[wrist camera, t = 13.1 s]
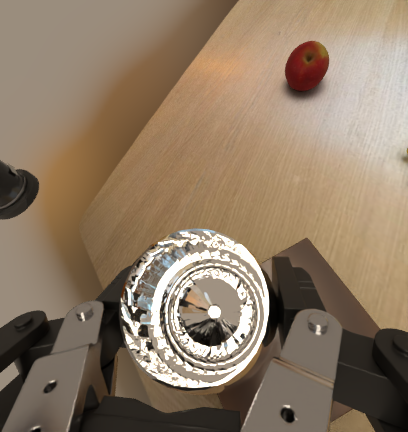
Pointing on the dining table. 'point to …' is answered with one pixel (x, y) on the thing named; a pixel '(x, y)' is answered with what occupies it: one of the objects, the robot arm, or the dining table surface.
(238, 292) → the wineglass
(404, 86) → the dining table surface
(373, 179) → the dining table surface
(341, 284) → the shelf
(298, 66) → the apple
